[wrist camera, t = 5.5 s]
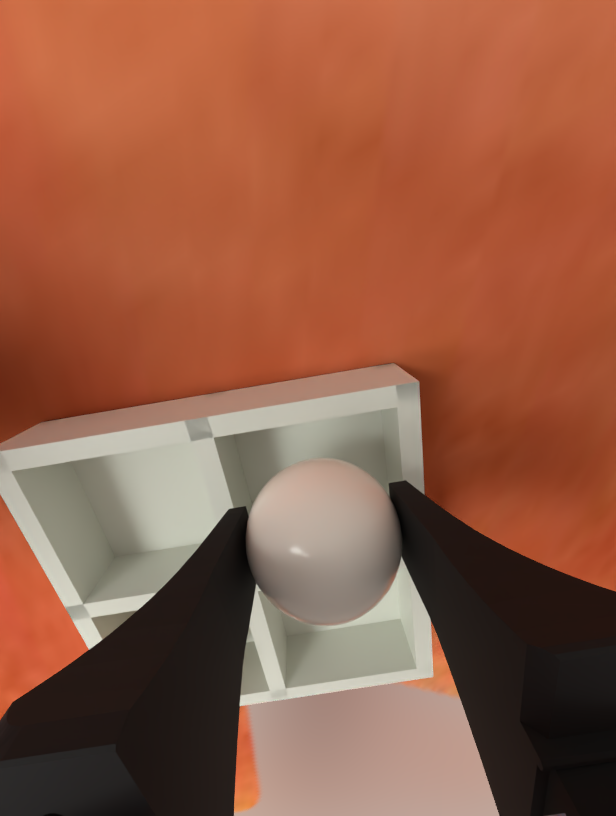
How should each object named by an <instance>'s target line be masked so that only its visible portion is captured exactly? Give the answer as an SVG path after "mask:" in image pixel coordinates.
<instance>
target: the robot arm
mask: <svg viewBox="0 0 616 816" xmlns="http://www.w3.org/2000/svg"><path fill="white" fill-rule="evenodd" d="M389 494H390V499H391V501H392V502H393V504H394V506H395V509H396V512H397V515H398V518H399V521H400V525H401V532H402V559H403V561H404V563H405V565H406V568H407V570H408V572H409V574H410V576H411V578H412V580H413V583H414V585H415V587H416V589H417V591H418V593H419V595H420V598H421V600H422V602H423V604H424V606H425V608H426V610H427V612H428V615H429V617H430V619H431V621H432V623H433V626H434V628H435V631H436V633H437V635H438V638H439V641H440V643H441V646H442V649H443V652H444V654H445V657H446V660H447V663H448V665H449V668H450V671H451V674H452V676H453V679H454V682H455V685H456V688H457V691H458V693H459V696H460V699H461V701H462V705H463V707H464V710H465V713H466V716H467V719H468V722H469V725H470V728H471V731H472V734H473V737H474V740H475V743H476V746H477V748H478V751H479V754H480V757H481V760H482V763H483V766H484V769H485V772H486V776H487V779H488V781H489V785H490V788H491V791H492V794H493V797H494V800H495V803H496V806H497V809H498V812H499V815H500V816H616V592H615V591H612V590H609V589H606V588H603V587H599V586H597V585H594V584H591V583H588V582H586V581H583V580H580V579H578V578H575V577H572V576H570V575H567V574H564V573H562V572H560V571H557V570H555V569H552V568H550V567H547V566H545V565H543V564H541V563H538V562H536V561H534V560H532V559H530V558H527V557H525V556H523V555H521V554H519V553H517V552H515V551H512V550H510V549H508V548H506V547H505V546H503V545H501V544H499V543H497V542H495V541H493V540H492V539H490V538H488V537H486V536H484V535H483V534H481V533H479V532H477V531H476V530H474V529H472V528H471V527H469V526H468V525H466V524H465V523H463V522H461V521H460V520H458V519H457V518H455V517H454V516H452V515H451V514H450V513H448V512H447V511H445V510H444V509H443V508H441V507H440V506H438V505H437V504H436V503H434V502H433V501H432V500H431V499H429V498H428V497H427V496H425V495H424V494H423V493H422V492H420V491H419V490H418V489H416V488H415V487H414V486H413V485H411V484H410V483H409V482H407V481H406V480H404V481H398V482H392V483H389ZM248 518H249V516H248V512H247V508H246V506H243V507H237V508H231V509H228V511H227V512H226V513H225V514H224V516H223V517H222V518H221V519H220V521H219V522H218V523H217V525H216V526H215V527H214V528H213V530H212V531H211V532H210V534H209V535H208V536H207V537H206V539H205V540H204V541H203V542H202V544H201V545H200V546H199V547H198V549H197V550H196V551H195V552H194V553H193V554H192V556H191V557H190V558H189V559H188V560H187V561H186V562H185V564H184V565H183V566H182V567H181V568H180V569H179V570H178V571H177V573H176V574H175V575H174V576H173V577H172V578H171V579H170V580H169V581H168V582H167V583H166V584H165V585H164V586H163V587H162V588H161V589H160V590H159V591H158V592H157V593H156V594H155V595H154V596H153V597H152V598H151V599H150V600H149V601H148V602H146V603H145V604H144V605H143V606H142V607H141V608H140V609H139V610H137V611H136V612H135V613H134V614H133V615H132V616H130V617H129V618H128V619H127V620H126V621H125V622H123V623H122V624H121V625H120V626H119V627H118V628H116V629H115V630H114V631H113V632H112V633H110V634H109V635H108V636H106V637H105V638H104V639H103V640H101V641H100V642H99V643H98V644H96V645H95V646H94V647H92V648H91V649H90V650H88V651H87V652H86V653H84V654H83V655H82V656H80V657H79V658H77V659H76V660H75V661H73V662H72V663H71V664H69V665H68V666H66V667H65V668H63V669H62V670H61V671H59V672H58V673H56V674H55V675H53V676H52V677H50V678H49V679H47V680H46V681H44V682H43V683H41V684H40V685H38V686H37V687H35V688H34V689H32V690H31V691H29V692H28V693H26V694H25V695H23V696H22V697H20V698H19V699H17V700H15V701H14V702H13V703H12V704H11V706H10V707H9V708H8V710H7V711H6V713H5V714H4V716H3V717H2V719H1V720H0V816H234V794H235V774H236V755H237V738H238V723H239V708H240V695H241V683H242V671H243V661H244V654H245V647H246V641H247V635H248V630H249V624H250V618H251V612H252V606H253V601H254V595H255V589H256V582H255V580H254V578H253V575H252V573H251V570H250V567H249V563H248V559H247V554H246V539H245V536H246V528H247V521H248Z"/></svg>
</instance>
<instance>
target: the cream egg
mask: <svg viewBox="0 0 616 816" xmlns="http://www.w3.org/2000/svg"><path fill="white" fill-rule="evenodd" d="M245 539H246V554H247V559H248V563H249V567H250V570H251V573H252V575H253V578H254V580H255V582H256V584H257V585H258V587H259V589H260V590H261V592H262V593H263V594H264V595H265V597H266V598H267V599H268V601H269V602H270V603H271V604H273V605H274V606H275V607H276V608H277V609H278V610H280V611H281V612H282V613H284V614H285V615H287V616H289V617H290V618H293V619H295V620H297V621H300V622H302V623H306V624H310V625H315V626H336V625H341V624H345V623H348V622H351V621H354V620H356V619H358V618H360V617H362V616H363V615H365V614H366V613H368V612H369V611H371V610H372V609H373V608H374V607H375V606H377V604H378V603H379V602H380V601H381V600H382V599H383V598H384V596H385V595H386V594H387V592H388V591H389V590H390V588H391V586H392V584H393V582H394V580H395V578H396V575H397V572H398V569H399V566H400V562H401V556H402V532H401V525H400V521H399V518H398V515H397V512H396V509H395V506H394V504H393V502H392V501H391V499H390V497H389V495H388V494H387V492H386V491H385V489H384V488H383V487H382V486H381V485H380V483H379V482H378V481H377V480H376V479H375V478H374V477H373V476H371V475H370V474H369V473H367V472H366V471H364V470H363V469H361V468H360V467H358V466H356V465H354V464H352V463H349V462H347V461H343V460H339V459H334V458H311V459H306V460H302V461H299V462H296V463H294V464H292V465H290V466H288V467H286V468H284V469H283V470H281V471H279V472H278V473H277V474H276V475H275V476H273V477H272V478H271V479H270V480H269V481H268V482H267V484H266V485H265V486H264V487H263V488H262V490H261V491H260V493H259V494H258V496H257V498H256V499H255V501H254V504H253V506H252V508H251V511H250V514H249V518H248V521H247V528H246V536H245Z"/></svg>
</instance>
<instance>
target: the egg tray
mask: <svg viewBox="0 0 616 816" xmlns="http://www.w3.org/2000/svg"><path fill="white" fill-rule="evenodd" d="M311 458H334V459H339V460H343V461H347V462H349V463H352V464H354V465H356V466H358V467H360V468H361V469H363V470H364V471H366V472H367V473H369V474H370V475H371V476H373V477H374V478H375V479H376V480H377V481H378V482H379V483H380V485H381V486H382V487H383V488H384V489H385V491H386V492H387V494H388V495H389V497H390V494H389V483H392V482H398V481H404V480H406V481H407V482H409V483H410V484H411V485H413V486H414V487H415V488H416V489H418V490H419V491H420V492H422V493H423V494H424V495H425V492H424V471H423V451H422V430H421V409H420V388H419V381H418V380H417V379H415V378H414V377H413V376H411V375H410V374H408V373H407V372H406V371H404V370H403V369H402V368H400V367H399V366H397V365H396V364H395V363H390V364H384V365H378V366H372V367H366V368H360V369H354V370H348V371H343V372H337V373H331V374H325V375H319V376H313V377H307V378H301V379H295V380H289V381H283V382H277V383H271V384H265V385H259V386H254V387H248V388H242V389H236V390H230V391H224V392H218V393H212V394H206V395H200V396H194V397H188V398H182V399H176V400H170V401H165V402H159V403H153V404H147V405H141V406H135V407H129V408H123V409H117V410H111V411H105V412H99V413H93V414H87V415H81V416H75V417H70V418H64V419H58V420H52V421H46V422H41V423H39V424H37V425H35V426H33V427H31V428H29V429H27V430H25V431H23V432H21V433H19V434H18V435H16V436H14V437H12V438H10V439H8V440H6V441H4V442H2V443H0V494H1V496H2V498H3V500H4V501H5V503H6V505H7V507H8V508H9V510H10V512H11V514H12V515H13V517H14V519H15V521H16V522H17V524H18V526H19V528H20V529H21V531H22V533H23V535H24V536H25V538H26V540H27V542H28V543H29V545H30V547H31V549H32V550H33V552H34V554H35V556H36V557H37V559H38V561H39V563H40V564H41V566H42V568H43V570H44V571H45V573H46V575H47V577H48V578H49V580H50V582H51V584H52V585H53V587H54V589H55V591H56V592H57V594H58V596H59V598H60V599H61V601H62V603H63V605H64V606H65V608H66V610H67V612H68V613H69V615H70V617H71V619H72V620H73V622H74V624H75V626H76V627H77V629H78V631H79V633H80V634H81V636H82V638H83V640H84V641H85V643H86V645H87V647H88V648H89V650H90V649H91V648H92V647H94V646H95V645H96V644H98V643H99V642H100V641H101V640H103V639H104V638H105V637H106V636H108V635H109V634H110V633H112V632H113V631H114V630H115V629H116V628H118V627H119V626H120V625H121V624H122V623H123V622H125V621H126V620H127V619H128V618H129V617H130V616H132V615H133V614H134V613H135V612H136V611H137V610H139V609H140V608H141V607H142V606H143V605H144V604H145V603H146V602H148V601H149V600H150V599H151V598H152V597H153V596H154V595H155V594H156V593H157V592H158V591H159V590H160V589H161V588H162V587H163V586H164V585H165V584H166V583H167V582H168V581H169V580H170V579H171V578H172V577H173V576H174V575H175V574H176V573H177V571H178V570H179V569H180V568H181V567H182V566H183V565H184V564H185V562H186V561H187V560H188V559H189V558H190V557H191V556H192V554H193V553H194V552H195V551H196V550H197V549H198V547H199V546H200V545H201V544H202V542H203V541H204V540H205V539H206V537H207V536H208V535H209V534H210V532H211V531H212V530H213V528H214V527H215V526H216V525H217V523H218V522H219V521H220V519H221V518H222V517H223V516H224V514H225V513H226V512H227V511H228V509H231V508H237V507H243V506H246V508H247V512H248V516H249V514H250V511H251V508H252V506H253V504H254V501H255V499H256V498H257V496H258V494H259V493H260V491H261V490H262V488H263V487H264V486H265V485H266V484H267V482H268V481H269V480H270V479H271V478H272V477H273V476H275V475H276V474H277V473H278V472H279V471H281V470H283V469H284V468H286V467H288V466H290V465H292V464H294V463H296V462H299V461H302V460H306V459H311ZM429 677H433V659H432V638H431V619H430V617H429V615H428V612H427V610H426V608H425V606H424V604H423V602H422V600H421V598H420V595H419V593H418V591H417V589H416V587H415V585H414V583H413V580H412V578H411V576H410V574H409V572H408V570H407V568H406V565H405V563H404V561H403V559H402V556H401V562H400V566H399V569H398V572H397V575H396V578H395V580H394V582H393V584H392V586H391V588H390V590H389V591H388V592H387V594H386V595H385V596H384V598H383V599H382V600H381V601H380V602H379V603H378V604H377V606H375V607H374V608H373V609H372V610H371V611H369V612H368V613H366V614H365V615H363V616H362V617H360V618H358V619H356V620H354V621H351V622H348V623H345V624H341V625H336V626H315V625H310V624H306V623H302V622H300V621H297V620H295V619H293V618H290V617H289V616H287V615H285V614H284V613H282V612H281V611H280V610H278V609H277V608H276V607H275V606H274V605H273V604H271V603H270V602H269V601H268V599H267V598H266V597H265V595H264V594H263V593H262V592H261V590H260V589H259V587H258V585H257V584H256V589H255V595H254V601H253V606H252V612H251V618H250V624H249V630H248V635H247V641H246V647H245V654H244V661H243V671H242V683H241V695H240V706H244V705H250V704H257V703H264V702H270V701H276V700H284V699H290V698H297V697H303V696H310V695H317V694H323V693H330V692H336V691H342V690H350V689H356V688H363V687H370V686H376V685H383V684H390V683H396V682H403V681H409V680H416V679H423V678H429Z"/></svg>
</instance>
